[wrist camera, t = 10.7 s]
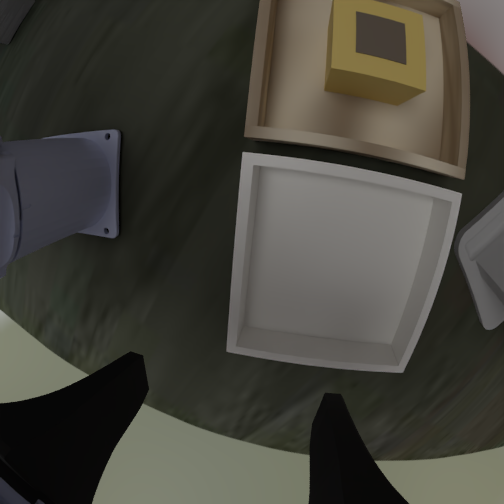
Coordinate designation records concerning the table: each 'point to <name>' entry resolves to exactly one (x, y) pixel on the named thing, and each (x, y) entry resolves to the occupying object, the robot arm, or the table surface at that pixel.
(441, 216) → the white tub
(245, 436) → the table surface
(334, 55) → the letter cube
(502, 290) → the phone holder
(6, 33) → the skincare box
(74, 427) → the robot arm
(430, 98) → the birch box
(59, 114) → the table surface
